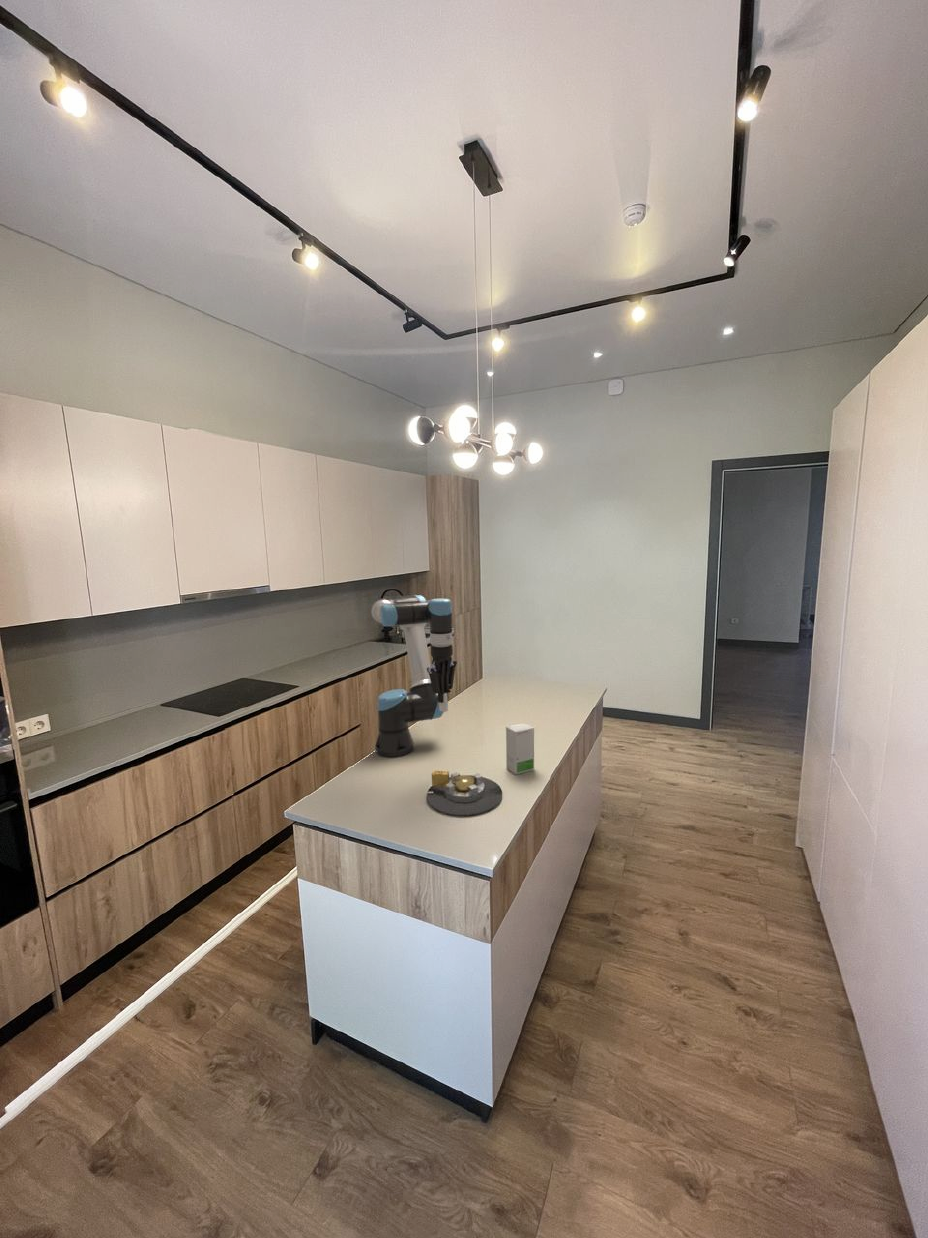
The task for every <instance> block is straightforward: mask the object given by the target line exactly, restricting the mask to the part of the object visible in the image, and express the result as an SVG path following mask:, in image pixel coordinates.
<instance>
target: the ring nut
mask: <svg viewBox="0 0 928 1238" xmlns="http://www.w3.org/2000/svg"><path fill="white" fill-rule="evenodd" d="M458 776H461V774H460V772H457V771H454V772H453V773H450V771H449V770H448V771H447V770H433V771H432V773H431V786H444V794H445V796H446V797H447V798H448V799H450V800H452V801H454V802H463V803H467V802H472V801H476V800H478V799H479V798H481V797H483V795H484V792H485V785H484V783H483V782H482V777H483V776H482V775H481V774H480V773H475V774H473V775H472V776H473V779H474V785H471V786H469V787H468V792H467V793H461V792H456V791H455V778H456V777H458ZM449 777H451V780H450V779H449Z"/></svg>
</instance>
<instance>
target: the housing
mask: <svg viewBox="0 0 928 1238" xmlns="http://www.w3.org/2000/svg"><path fill="white" fill-rule="evenodd" d="M449 779H450V780H451V776H449ZM482 782H483V783H484V785H485V792H484V795H483V797H481V798H479V799H478V800H476V801H472V802H467V803H463V802H454V801H452V800H450V799H448V798H447V797H446V796H445V794H444V786H432V785H431V786H430V787H429V788H428V790H427V793H426V800H427V803H428V806H430V808H432V809H433V810H435V811H436V812H437V813H439V814H443V815H447V816H450V817H451V816H452V817H461V818H462V817H467V818H468V817H473V816H479V815H484V814H486V813H488V812H490V811H493V810H494V809H495V808H497V807H498V806H499V805H500V804H501V803H502V800H503V790H502V788H501V786H500V785H499V784H498V783H496V782H495V781H494V780H492V779H490V778H487V777H484V776H482ZM471 785H474V779H473V775H469V774H468V775H466V774H464V775H463V774H462V775H461V774H460V776H458V777H456V778H455V791H456V792H461V793H467V792H468V787H469V786H471Z"/></svg>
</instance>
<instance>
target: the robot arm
mask: <svg viewBox="0 0 928 1238" xmlns="http://www.w3.org/2000/svg"><path fill="white" fill-rule="evenodd" d="M452 613H453V607H452V601H451V600H450V599H449V598H439V597H438V598H432V599H429V600H427V599H426V598H425V597H424V596H423V595H420V594H419V595H417V594H416V595H415V594H411V595H398V596H386V597H383V598H380V599H377V600H376V601H374V602H373V604H372V605H371V607H370V616H371V618H372V619H373V620H374V621H375V622H376V623H378V624H381V625H382V626H383V627H395V626H396V627H397V626H398V627H399V629H400V630H403V634H404V638H405V644H406V646H405V647H406V651H407V658H408V664H409V670H410V677H411V686H410V687H409V692H408V691H407V690H405V689H402V688H400V689H398V688H395V689H390V690H387V691H384V692H383V693H381V694H380V695H379V696H378V697H377V701H376V705H377V706H376V710H377V719H378V720H377V722H378V733H377V734H378V735H377V738H376V741H375V748H374V749H375V753H376V755H378V756H381V757H384V758H398V757H402V756H405V755H407V754H410V753H411V752H413V751H414V749H415V743H414V740H413V738H412V735H411V732H410V729H409V723H416V722H423V721H428V720H430V721H432V720H435V719H439V718H441V717H442V716H443V714H444V713H447V712H448V711H449V707H448V706H449V705H448V702H449V693H451V691H452V690H453V687H454V686H453V685H454V679H455V671H456V667H457V665H458V664H457V663H458V661H457V660H454V659H453V657H452V656H453V654H454V652H453V651H454V650H453V649H454V646H453V614H452ZM428 624H429V640H430V641H429V642H430V655H429V649H428V644H427V639H426V638H427V637H426V632H425V627H426V625H428ZM430 656H431V657H432V660H431V661H430ZM376 751H377V752H376Z"/></svg>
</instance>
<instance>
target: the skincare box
mask: <svg viewBox="0 0 928 1238" xmlns="http://www.w3.org/2000/svg"><path fill="white" fill-rule="evenodd" d="M505 732H506V733H505V741H506V742H505V743H506V745H505V746H506V748H505V751H506V757H505V759H506V769H508V770H509V771H510V772H511V773H513V774H514V775H519V774H523V773H527V772H531V771H534V770H535V728H534V727H533V726H531V725H529V724H527V723H525V722H524V723H517V724H512V725H507V726H505Z"/></svg>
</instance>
